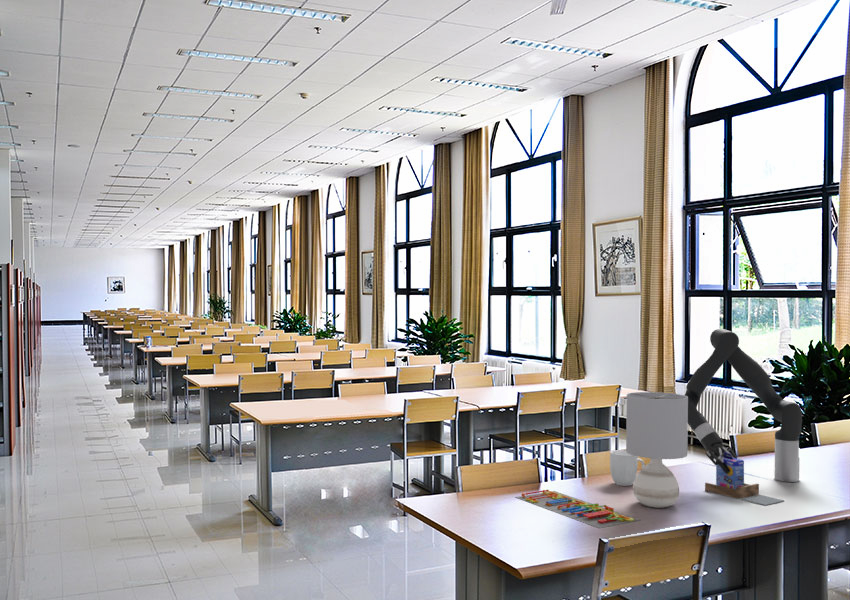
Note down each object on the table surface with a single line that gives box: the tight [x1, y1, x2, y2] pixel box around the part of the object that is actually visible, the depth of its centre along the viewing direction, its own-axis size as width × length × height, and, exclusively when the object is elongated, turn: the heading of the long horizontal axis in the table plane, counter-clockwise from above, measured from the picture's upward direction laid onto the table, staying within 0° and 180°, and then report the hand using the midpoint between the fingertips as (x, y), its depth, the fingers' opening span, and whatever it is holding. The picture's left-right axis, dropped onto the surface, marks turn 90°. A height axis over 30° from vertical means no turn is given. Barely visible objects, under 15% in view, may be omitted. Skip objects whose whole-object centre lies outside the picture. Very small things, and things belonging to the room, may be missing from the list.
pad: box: [740, 494, 785, 507], centre depth 290 cm, size 12×10×1 cm
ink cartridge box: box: [715, 452, 745, 489], centre depth 303 cm, size 10×6×14 cm, turn 25°
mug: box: [609, 449, 646, 487], centre depth 314 cm, size 15×11×13 cm
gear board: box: [515, 489, 640, 529], centre depth 277 cm, size 45×2×19 cm
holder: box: [704, 482, 760, 499], centre depth 302 cm, size 13×15×4 cm
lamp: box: [625, 391, 689, 509], centre depth 282 cm, size 22×22×40 cm
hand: (733, 471), depth 302 cm, fingers closed on ink cartridge box, 6 cm apart
